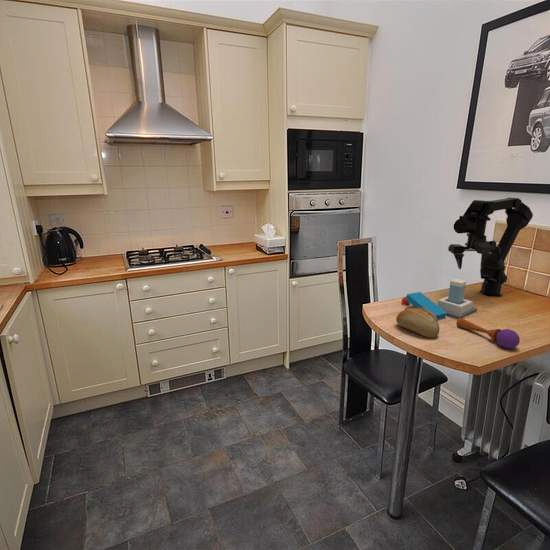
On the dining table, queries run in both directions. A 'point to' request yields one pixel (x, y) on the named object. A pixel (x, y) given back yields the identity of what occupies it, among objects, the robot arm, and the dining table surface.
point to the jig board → (457, 308)
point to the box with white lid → (456, 291)
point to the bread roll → (419, 321)
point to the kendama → (493, 334)
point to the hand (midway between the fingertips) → (470, 269)
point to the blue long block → (424, 304)
